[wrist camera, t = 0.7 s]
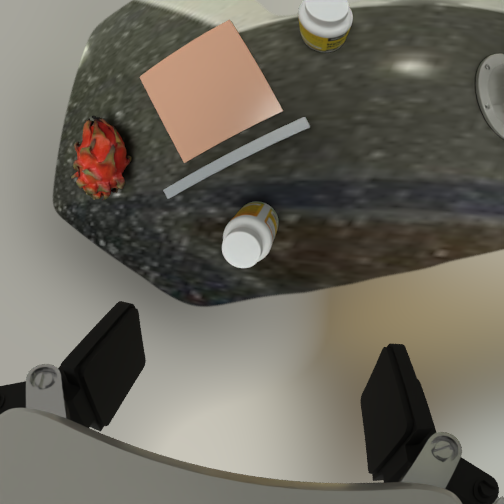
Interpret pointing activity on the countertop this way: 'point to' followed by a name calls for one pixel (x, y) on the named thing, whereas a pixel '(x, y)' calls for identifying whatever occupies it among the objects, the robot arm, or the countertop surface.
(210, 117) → the tile
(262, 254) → the supplement bottle
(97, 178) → the dragon fruit
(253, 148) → the low wall
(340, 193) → the countertop surface
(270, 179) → the countertop surface
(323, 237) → the countertop surface
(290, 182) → the countertop surface
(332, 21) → the supplement bottle
